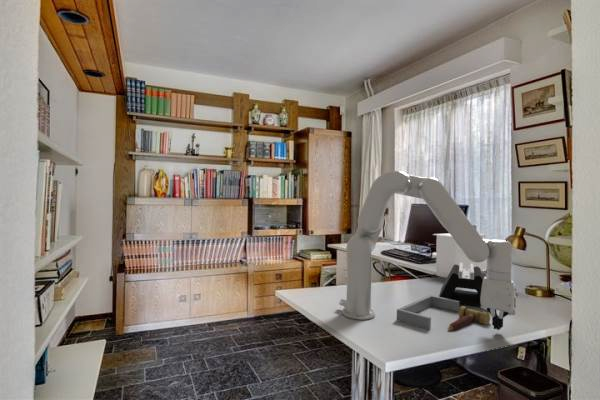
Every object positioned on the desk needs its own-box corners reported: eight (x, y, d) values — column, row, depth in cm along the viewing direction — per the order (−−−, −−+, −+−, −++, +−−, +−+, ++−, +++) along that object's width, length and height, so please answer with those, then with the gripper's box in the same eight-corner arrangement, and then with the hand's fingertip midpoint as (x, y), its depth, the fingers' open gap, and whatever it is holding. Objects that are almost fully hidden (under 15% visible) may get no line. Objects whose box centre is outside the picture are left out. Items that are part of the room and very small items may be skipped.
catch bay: (396, 320, 131) (396, 309, 130) (429, 303, 151) (429, 294, 151) (428, 329, 122) (429, 318, 122) (459, 310, 143) (459, 301, 142)
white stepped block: (470, 266, 236) (471, 230, 236) (498, 272, 221) (499, 233, 221) (428, 273, 212) (429, 233, 212) (456, 280, 197) (456, 237, 196)
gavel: (462, 327, 117) (435, 318, 124) (462, 340, 117) (435, 331, 125) (490, 311, 129) (464, 304, 137) (490, 323, 130) (464, 315, 138)
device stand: (437, 302, 155) (438, 269, 155) (441, 290, 175) (441, 261, 175) (495, 310, 145) (496, 274, 145) (491, 296, 165) (492, 265, 165)
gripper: (471, 273, 122) (470, 325, 122) (521, 281, 111) (519, 338, 112) (478, 270, 127) (477, 320, 128) (526, 277, 117) (525, 331, 117)
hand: (497, 328), depth 120 cm, fingers closed
